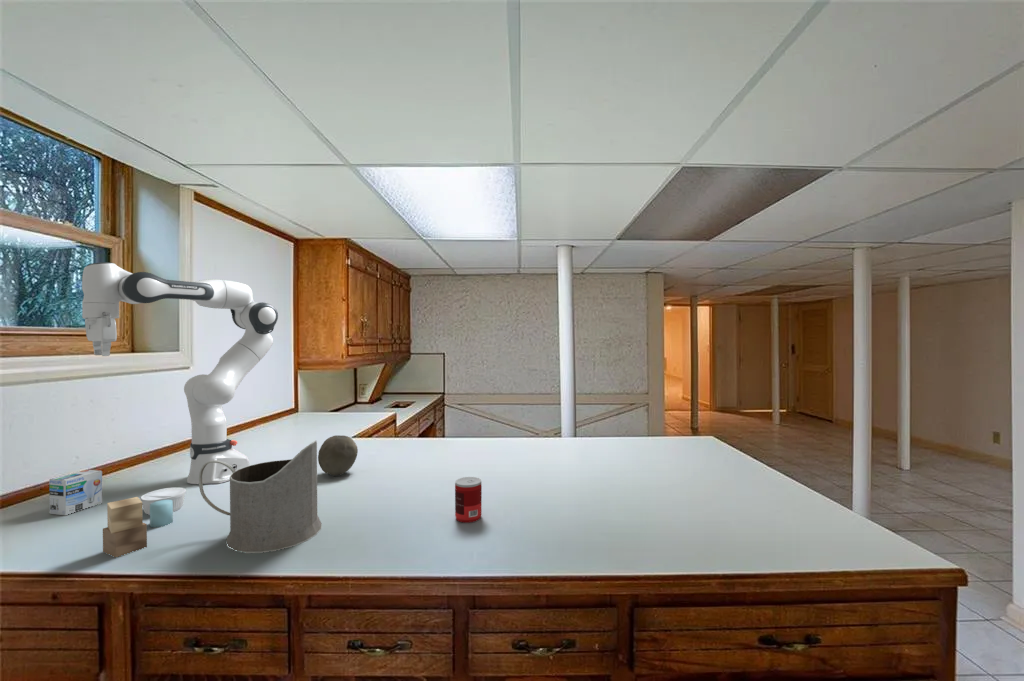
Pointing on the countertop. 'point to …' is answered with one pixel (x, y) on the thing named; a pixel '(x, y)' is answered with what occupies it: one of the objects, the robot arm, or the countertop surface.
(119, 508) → the oak block
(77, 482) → the light bulb box
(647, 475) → the countertop surface
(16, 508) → the countertop surface
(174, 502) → the ramekin
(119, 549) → the walnut block
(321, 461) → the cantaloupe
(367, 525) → the countertop surface
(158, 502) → the teal tapered block
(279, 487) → the pitcher
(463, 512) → the canned food
